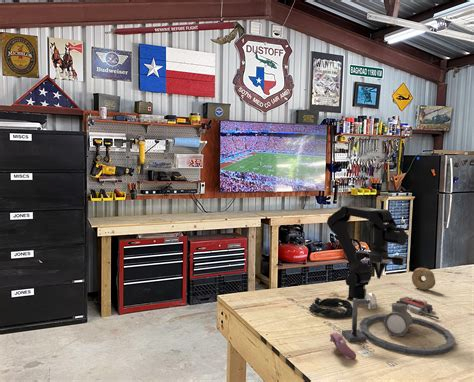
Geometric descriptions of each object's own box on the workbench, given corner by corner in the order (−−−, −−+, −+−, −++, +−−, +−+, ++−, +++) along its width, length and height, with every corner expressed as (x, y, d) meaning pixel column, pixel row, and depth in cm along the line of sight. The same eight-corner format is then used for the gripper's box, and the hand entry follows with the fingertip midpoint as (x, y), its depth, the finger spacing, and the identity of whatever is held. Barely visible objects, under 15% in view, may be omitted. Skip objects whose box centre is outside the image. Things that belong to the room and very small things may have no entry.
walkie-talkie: (392, 305, 174) (436, 322, 157) (392, 295, 173) (437, 311, 156) (406, 302, 178) (450, 318, 161) (406, 292, 178) (451, 307, 161)
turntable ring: (349, 339, 139) (349, 335, 139) (371, 312, 165) (372, 308, 165) (449, 364, 124) (449, 359, 123) (457, 330, 149) (457, 325, 149)
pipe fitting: (407, 339, 140) (407, 307, 140) (383, 334, 145) (383, 304, 145) (417, 331, 149) (417, 302, 150) (394, 327, 154) (394, 299, 155)
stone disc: (409, 287, 198) (410, 266, 197) (412, 285, 201) (414, 265, 200) (432, 292, 191) (434, 271, 190) (435, 291, 194) (436, 269, 193)
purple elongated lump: (334, 350, 135) (325, 331, 134) (346, 343, 135) (337, 325, 134) (344, 365, 125) (335, 345, 124) (358, 358, 125) (348, 338, 125)
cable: (358, 312, 165) (359, 302, 165) (344, 323, 154) (345, 312, 153) (319, 303, 175) (319, 292, 175) (303, 312, 164) (303, 301, 164)
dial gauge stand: (349, 342, 137) (351, 297, 136) (341, 334, 143) (343, 291, 142) (375, 340, 139) (377, 296, 138) (366, 333, 145) (368, 290, 144)
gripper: (351, 241, 167) (350, 279, 168) (401, 247, 157) (399, 287, 158) (359, 236, 176) (357, 273, 177) (406, 242, 166) (404, 280, 167)
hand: (378, 278), depth 170 cm, fingers closed
